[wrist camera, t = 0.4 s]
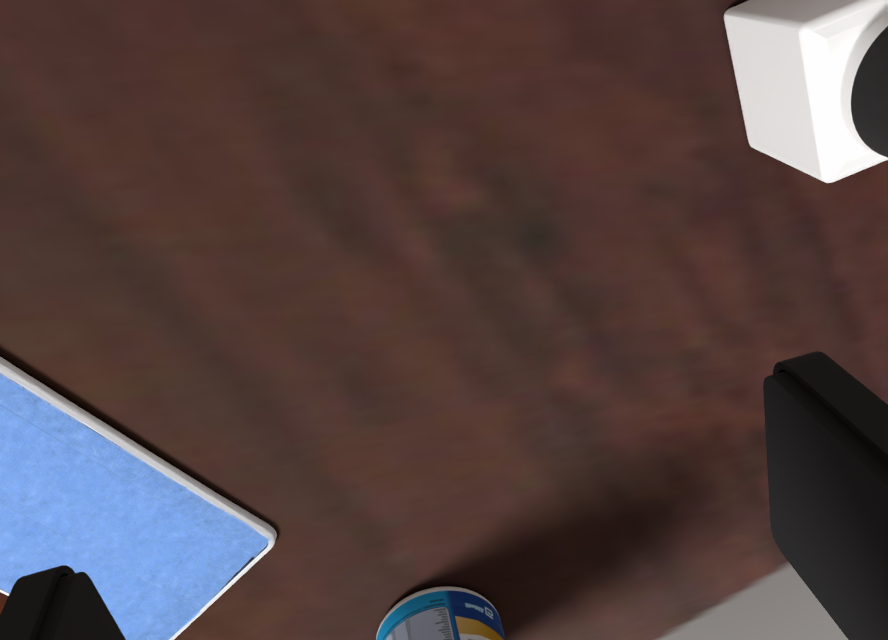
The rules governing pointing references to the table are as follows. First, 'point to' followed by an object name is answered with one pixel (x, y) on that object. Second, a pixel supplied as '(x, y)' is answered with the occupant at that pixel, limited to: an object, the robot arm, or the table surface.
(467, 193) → the table surface
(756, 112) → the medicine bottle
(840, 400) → the robot arm
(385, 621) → the beverage bottle
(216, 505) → the tablet computer
